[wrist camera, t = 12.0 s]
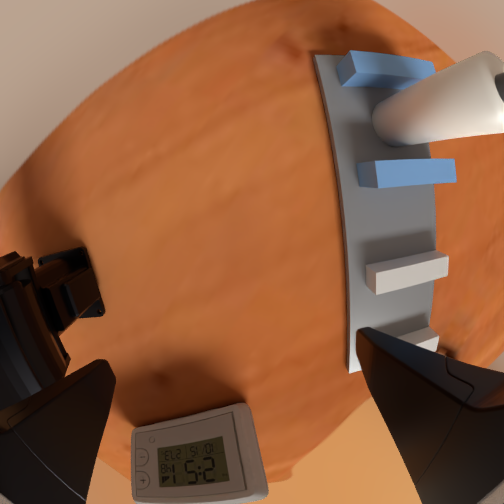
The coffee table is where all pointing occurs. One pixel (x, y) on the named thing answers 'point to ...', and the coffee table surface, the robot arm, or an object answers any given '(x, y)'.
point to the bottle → (446, 104)
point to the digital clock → (199, 459)
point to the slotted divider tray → (383, 200)
